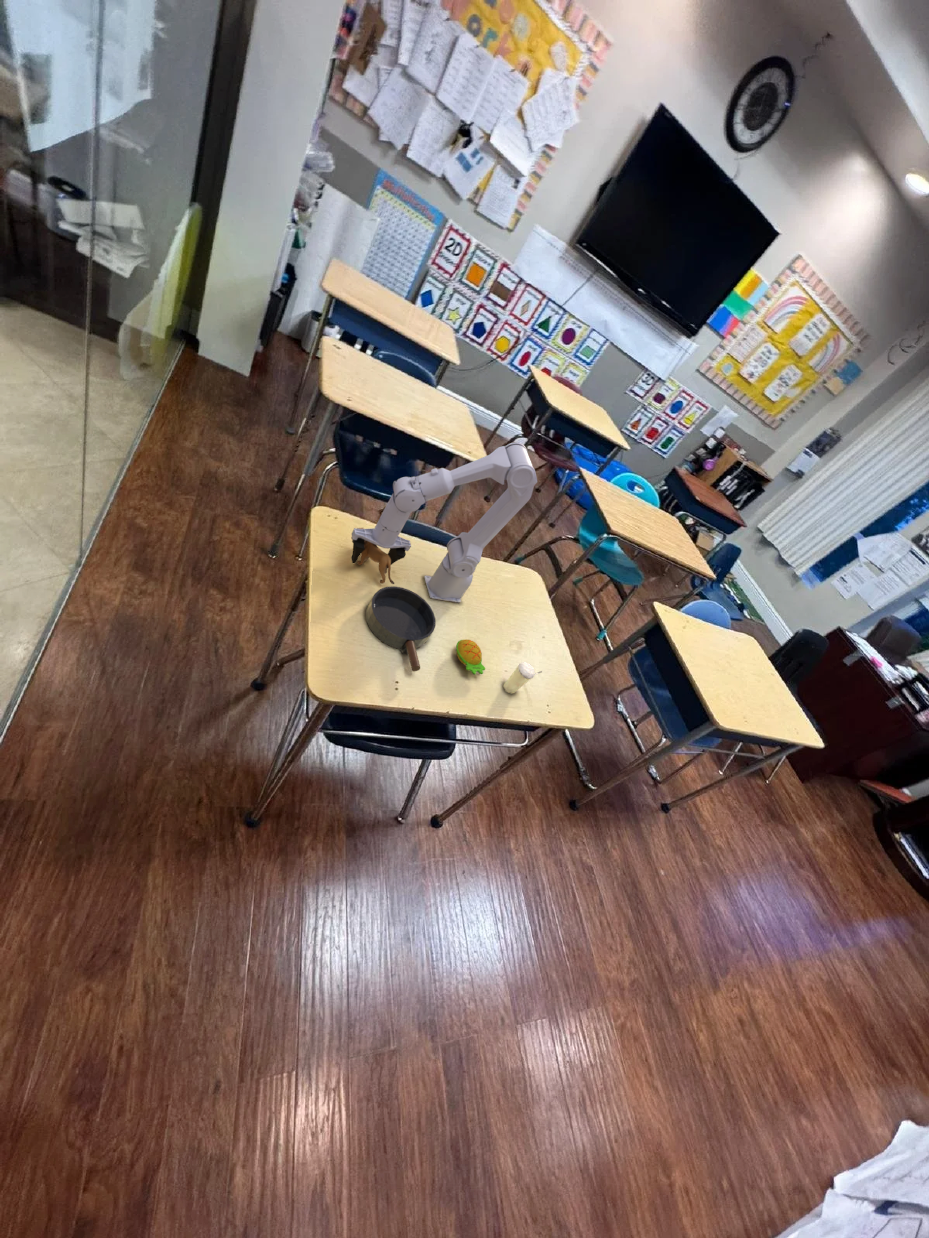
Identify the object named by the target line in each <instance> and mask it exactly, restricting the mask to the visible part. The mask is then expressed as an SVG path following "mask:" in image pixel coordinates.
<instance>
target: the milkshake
mask: <svg viewBox="0 0 929 1238" xmlns="http://www.w3.org/2000/svg"><path fill="white" fill-rule="evenodd" d="M541 673H543V670H540V671H537V672H535V668H534V666H533V665H531V664H530V663H529V662H526V661H521V662H520V663H518V664H517V666H516V668H515V669H514V670H513V672H512V673H511V675H510V676H509V677H508V678H507V680H506V681H505V682H504V684H503V690H504V691H505V692H506V693H508V694H509V695H511V694H512V695H513V694H515V693H516V692H517V691H518V690H520V689H521V688H522V687H523V686H524V685H525V684H526V683H528V682H530V681H531V680H532V679H533V678H534V677H535V676H536V675H539V674H541Z"/></svg>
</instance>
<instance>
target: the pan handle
mask: <svg viewBox="0 0 929 1238" xmlns="http://www.w3.org/2000/svg"><path fill="white" fill-rule="evenodd" d="M400 650H401V654H402V655H407V657H408V661H409V665H410V670H411V671H412V672H417V671H420V669H421V664H420V661H419V660H420V659H419V657H418V651H417V649H416V648H415V644H414V641H407V642H406V643H405V645H404V646H403V648H402V649H400Z"/></svg>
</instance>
